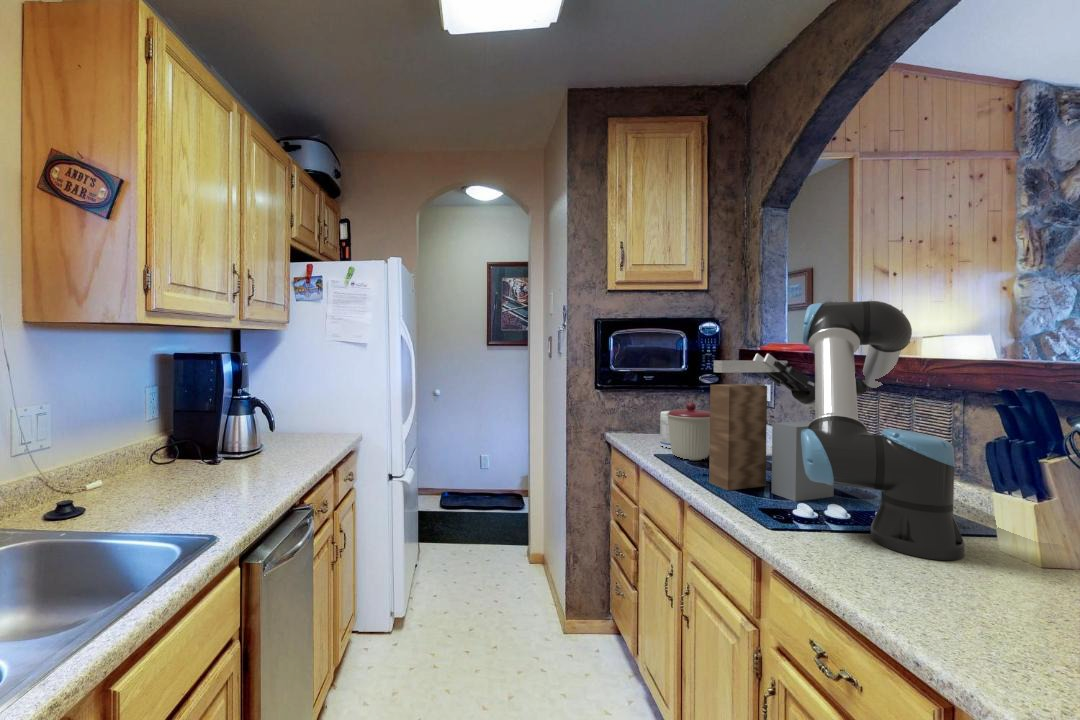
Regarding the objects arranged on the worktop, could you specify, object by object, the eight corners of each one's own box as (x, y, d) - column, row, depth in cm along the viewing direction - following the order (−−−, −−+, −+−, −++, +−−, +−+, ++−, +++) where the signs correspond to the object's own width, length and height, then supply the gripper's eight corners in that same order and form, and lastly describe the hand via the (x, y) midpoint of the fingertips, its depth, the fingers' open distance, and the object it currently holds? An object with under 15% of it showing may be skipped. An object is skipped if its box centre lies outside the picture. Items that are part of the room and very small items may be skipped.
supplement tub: (668, 443, 204) (669, 410, 204) (688, 447, 197) (688, 412, 197) (655, 446, 198) (655, 411, 198) (674, 450, 191) (674, 414, 190)
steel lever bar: (778, 371, 148) (778, 360, 148) (787, 372, 144) (787, 360, 144) (713, 372, 139) (713, 360, 139) (721, 372, 136) (722, 360, 136)
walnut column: (745, 479, 147) (746, 384, 146) (765, 486, 139) (767, 385, 139) (709, 483, 142) (710, 384, 142) (727, 490, 135) (729, 386, 134)
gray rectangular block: (808, 488, 137) (809, 420, 137) (833, 496, 130) (834, 424, 129) (771, 493, 132) (772, 422, 132) (795, 501, 125) (796, 427, 125)
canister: (686, 465, 165) (687, 405, 165) (656, 454, 182) (656, 400, 182) (726, 461, 172) (727, 404, 172) (693, 451, 189) (693, 399, 188)
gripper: (828, 407, 142) (777, 369, 135) (783, 401, 157) (735, 367, 150) (838, 385, 143) (788, 346, 136) (792, 382, 158) (745, 347, 151)
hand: (760, 357), depth 143 cm, fingers closed on steel lever bar, 3 cm apart
